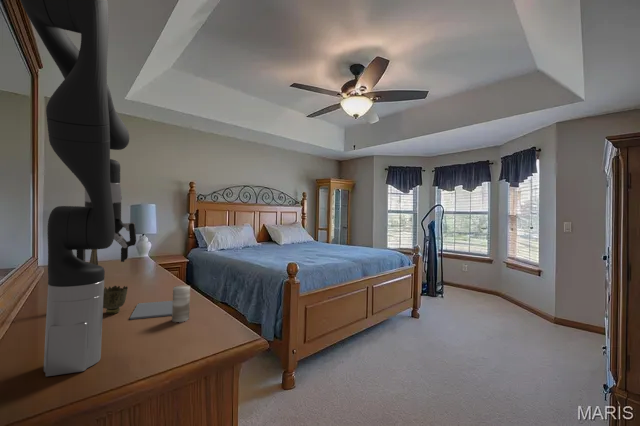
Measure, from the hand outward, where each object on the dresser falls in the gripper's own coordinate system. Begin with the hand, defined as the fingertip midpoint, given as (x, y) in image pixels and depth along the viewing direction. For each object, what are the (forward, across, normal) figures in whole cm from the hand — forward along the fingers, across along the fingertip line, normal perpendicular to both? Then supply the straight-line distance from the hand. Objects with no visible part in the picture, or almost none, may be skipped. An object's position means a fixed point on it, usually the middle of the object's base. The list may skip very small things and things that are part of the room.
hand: (103, 262), depth 76 cm
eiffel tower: (+23, -8, +29) cm, 38 cm away
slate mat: (+22, +14, +17) cm, 31 cm away
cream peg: (+20, +19, +3) cm, 28 cm away
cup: (+22, 0, +19) cm, 29 cm away
